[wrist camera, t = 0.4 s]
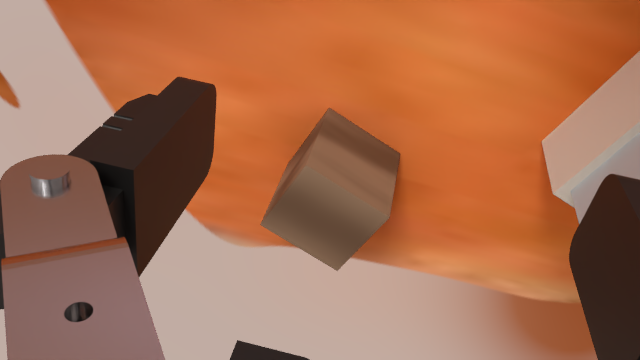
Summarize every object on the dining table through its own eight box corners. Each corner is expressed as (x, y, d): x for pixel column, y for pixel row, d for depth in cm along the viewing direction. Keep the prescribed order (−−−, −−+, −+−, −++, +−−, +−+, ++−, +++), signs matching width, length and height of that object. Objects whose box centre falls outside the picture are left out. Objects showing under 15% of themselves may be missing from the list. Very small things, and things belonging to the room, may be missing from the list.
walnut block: (329, 107, 32) (306, 165, 27) (400, 153, 33) (389, 217, 28) (287, 163, 35) (260, 224, 30) (354, 205, 36) (337, 270, 31)
